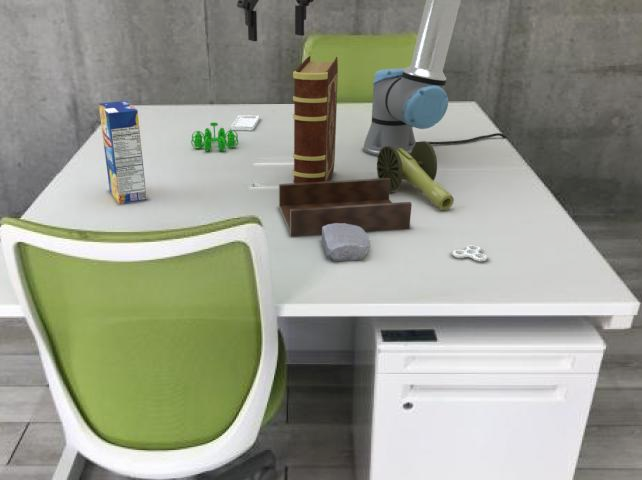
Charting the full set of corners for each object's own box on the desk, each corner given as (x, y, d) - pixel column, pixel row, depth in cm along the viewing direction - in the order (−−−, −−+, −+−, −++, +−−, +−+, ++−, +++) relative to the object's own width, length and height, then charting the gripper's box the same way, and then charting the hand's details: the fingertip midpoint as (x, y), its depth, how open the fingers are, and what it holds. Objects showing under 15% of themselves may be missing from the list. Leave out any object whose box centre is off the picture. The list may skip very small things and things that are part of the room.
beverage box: (119, 204, 178) (108, 113, 167) (109, 190, 187) (98, 103, 175) (146, 200, 180) (137, 110, 169) (135, 187, 189) (126, 100, 178)
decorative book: (323, 200, 179) (326, 73, 163) (291, 198, 180) (291, 72, 165) (334, 172, 198) (339, 56, 182) (306, 170, 199) (307, 55, 184)
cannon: (466, 207, 174) (473, 161, 168) (424, 215, 170) (429, 168, 164) (410, 177, 193) (414, 134, 188) (371, 183, 189) (374, 140, 184)
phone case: (252, 130, 235) (260, 119, 248) (252, 126, 235) (260, 115, 247) (230, 130, 236) (239, 118, 249) (230, 125, 236) (238, 114, 248)
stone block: (361, 245, 159) (317, 238, 158) (366, 225, 157) (322, 218, 155) (371, 270, 149) (324, 263, 148) (377, 249, 147) (329, 242, 145)
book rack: (387, 201, 178) (389, 177, 175) (409, 228, 163) (411, 203, 160) (279, 207, 175) (278, 183, 172) (291, 236, 160) (291, 210, 156)
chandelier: (228, 155, 212) (227, 131, 209) (182, 151, 216) (180, 127, 213) (246, 141, 224) (246, 119, 221) (202, 138, 229) (201, 115, 225)
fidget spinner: (488, 261, 147) (489, 258, 147) (457, 262, 147) (458, 259, 146) (477, 247, 153) (478, 244, 153) (447, 248, 153) (448, 245, 152)
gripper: (310, -65, 172) (309, 30, 183) (219, -62, 161) (224, 40, 172) (329, -65, 167) (327, 34, 178) (236, -61, 155) (240, 45, 166)
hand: (276, 37), depth 175 cm, fingers open, 13 cm apart
